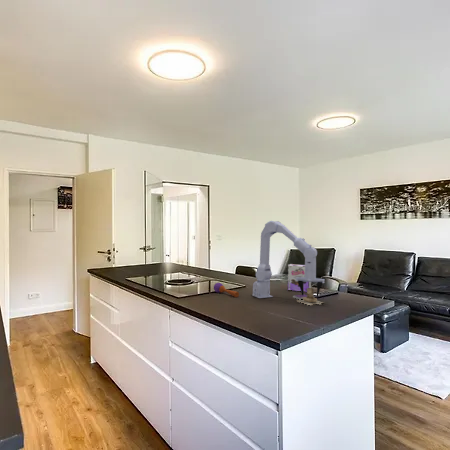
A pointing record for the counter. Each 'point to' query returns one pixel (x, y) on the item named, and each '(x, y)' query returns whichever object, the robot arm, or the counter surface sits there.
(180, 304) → the counter surface
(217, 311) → the counter surface
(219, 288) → the maraca
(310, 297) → the stamp
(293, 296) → the ink pad
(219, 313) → the counter surface
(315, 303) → the board
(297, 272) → the candy box
